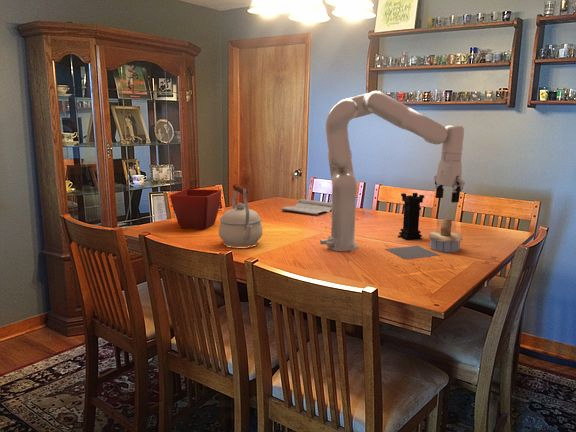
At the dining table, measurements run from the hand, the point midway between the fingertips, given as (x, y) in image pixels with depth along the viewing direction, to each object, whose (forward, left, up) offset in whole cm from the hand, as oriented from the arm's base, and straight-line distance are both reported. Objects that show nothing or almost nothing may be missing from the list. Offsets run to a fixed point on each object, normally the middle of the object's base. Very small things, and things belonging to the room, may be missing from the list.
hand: (446, 200), depth 198 cm
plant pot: (-86, +76, -21) cm, 117 cm away
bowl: (+1, 0, -21) cm, 21 cm away
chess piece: (-2, +20, -21) cm, 29 cm away
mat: (-19, +94, -21) cm, 98 cm away
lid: (0, 0, -16) cm, 16 cm away
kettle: (-75, +35, -21) cm, 86 cm away
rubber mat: (-15, 0, -21) cm, 26 cm away
